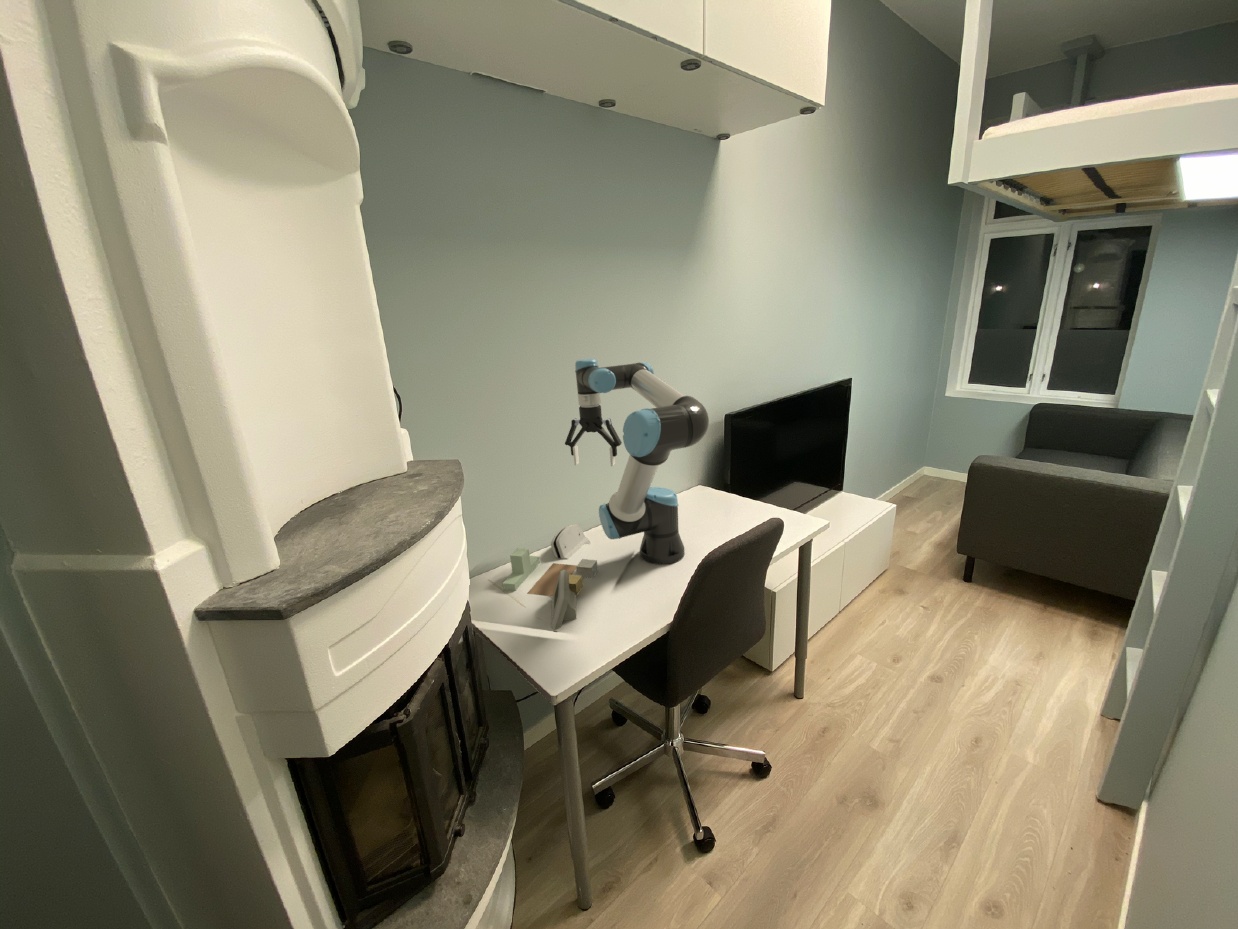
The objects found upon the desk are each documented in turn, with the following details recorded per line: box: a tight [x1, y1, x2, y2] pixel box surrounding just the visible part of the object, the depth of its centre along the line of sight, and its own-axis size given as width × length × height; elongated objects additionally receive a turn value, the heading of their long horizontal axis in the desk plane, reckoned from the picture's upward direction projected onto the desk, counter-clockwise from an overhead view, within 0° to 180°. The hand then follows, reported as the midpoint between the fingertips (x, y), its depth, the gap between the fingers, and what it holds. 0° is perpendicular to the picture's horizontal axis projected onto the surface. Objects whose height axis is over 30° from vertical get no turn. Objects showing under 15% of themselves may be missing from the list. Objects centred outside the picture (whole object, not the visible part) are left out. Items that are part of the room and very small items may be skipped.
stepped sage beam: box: [502, 547, 541, 592], centre depth 165 cm, size 4×18×10 cm, turn 164°
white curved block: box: [550, 524, 591, 560], centre depth 182 cm, size 17×5×10 cm, turn 156°
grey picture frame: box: [550, 570, 577, 633], centre depth 144 cm, size 16×9×11 cm, turn 174°
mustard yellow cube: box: [569, 574, 584, 596], centre depth 155 cm, size 5×5×5 cm
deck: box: [526, 563, 578, 597], centre depth 163 cm, size 9×19×2 cm, turn 162°
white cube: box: [576, 558, 599, 580], centre depth 164 cm, size 5×5×5 cm
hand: (594, 464), depth 183 cm, fingers open, 13 cm apart
